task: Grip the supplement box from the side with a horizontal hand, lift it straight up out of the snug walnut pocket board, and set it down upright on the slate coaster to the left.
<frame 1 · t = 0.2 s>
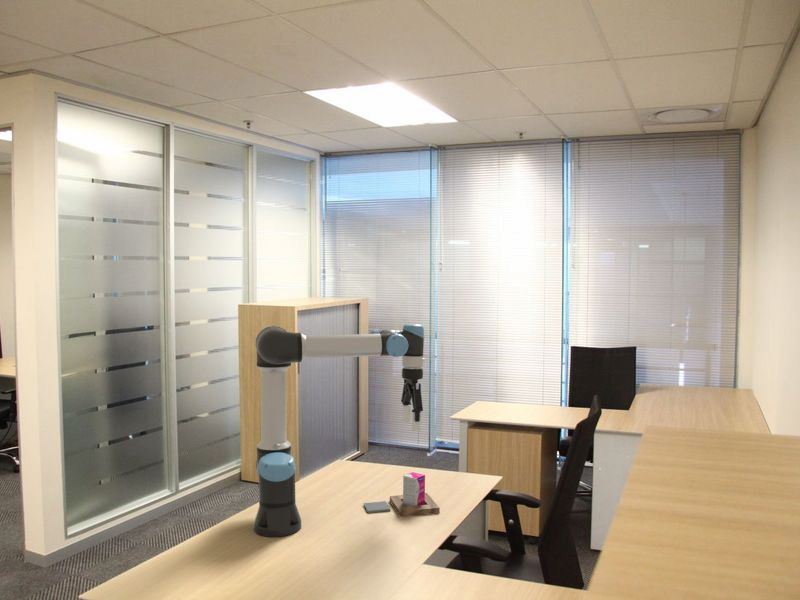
hand: (411, 426, 250), 27 cm above the table, tool pointing down, fingers open, 13 cm apart
coaster: (376, 508, 245), on the table
pocket board: (414, 506, 246), on the table
supplement box: (414, 507, 246), resting in pocket board
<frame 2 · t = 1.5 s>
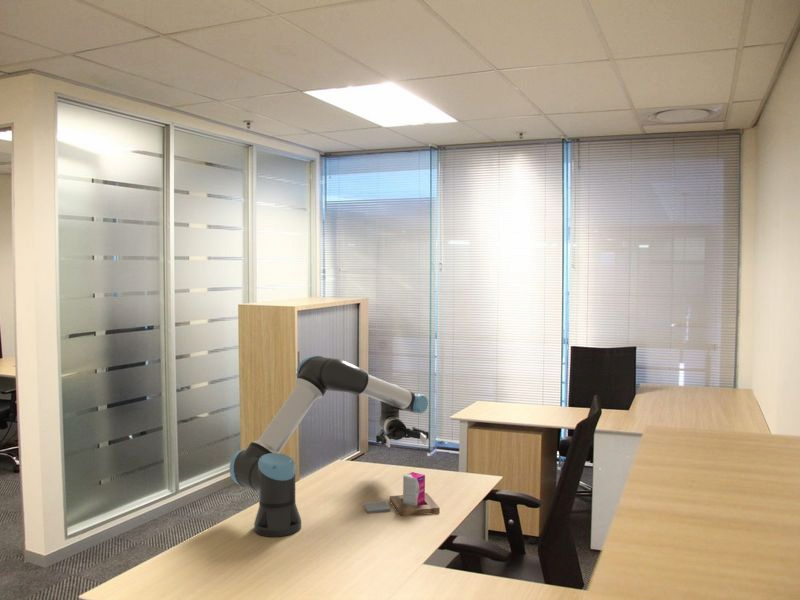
hand: (407, 442, 254), 21 cm above the table, tool horizontal, fingers open, 13 cm apart
nothing on the table moved.
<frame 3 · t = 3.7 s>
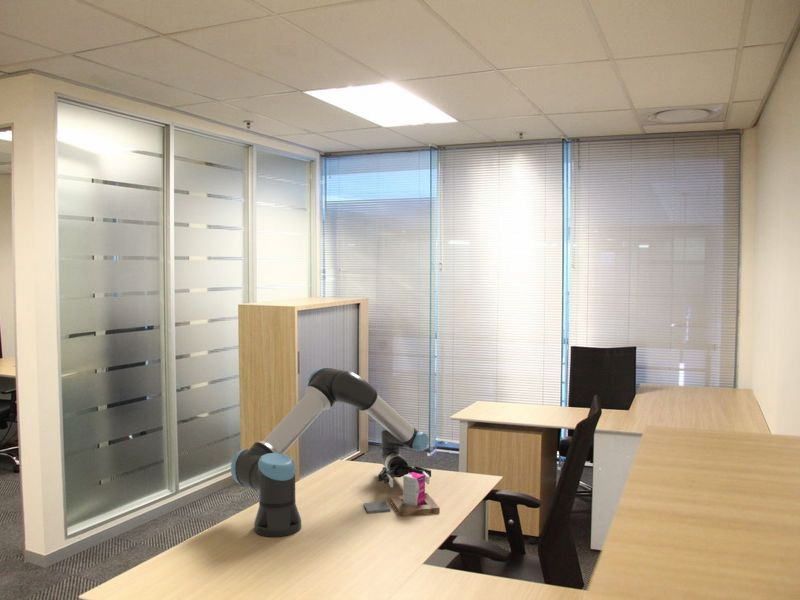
hand: (410, 481, 252), 7 cm above the table, tool horizontal, fingers open, 13 cm apart
nothing on the table moved.
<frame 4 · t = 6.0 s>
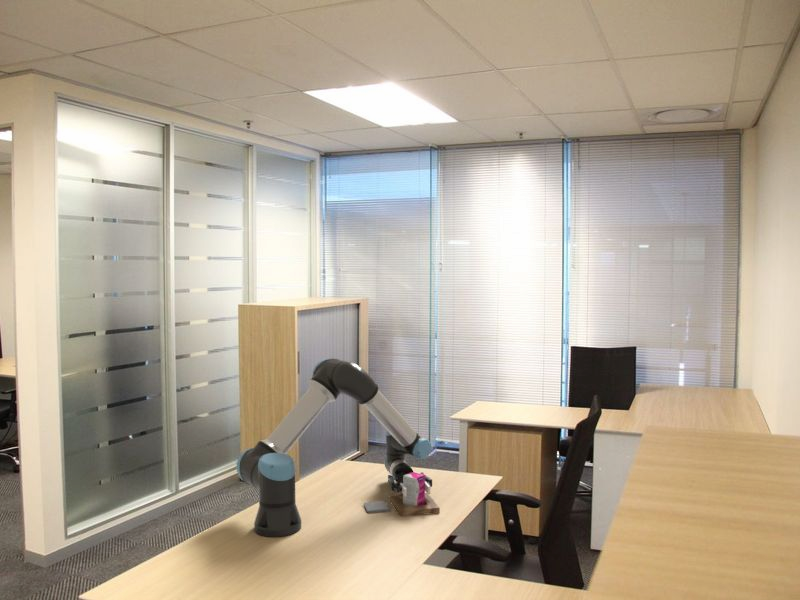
hand: (417, 491, 241), 7 cm above the table, tool horizontal, fingers closed on supplement box, 8 cm apart
supplement box: (414, 507, 246), resting in pocket board, touching gripper
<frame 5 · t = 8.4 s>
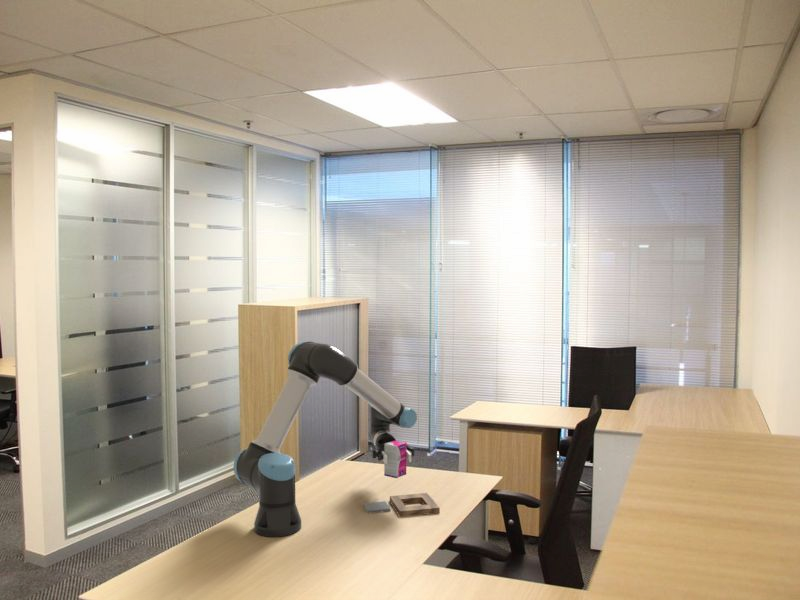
hand: (398, 459, 240), 19 cm above the table, tool horizontal, fingers closed on supplement box, 8 cm apart
supplement box: (395, 475, 245), point 11 cm above the table, touching gripper
when the fingers open (9 cm above the table, at t = 11.0 s): supplement box drops 2 cm, resting on coaster.
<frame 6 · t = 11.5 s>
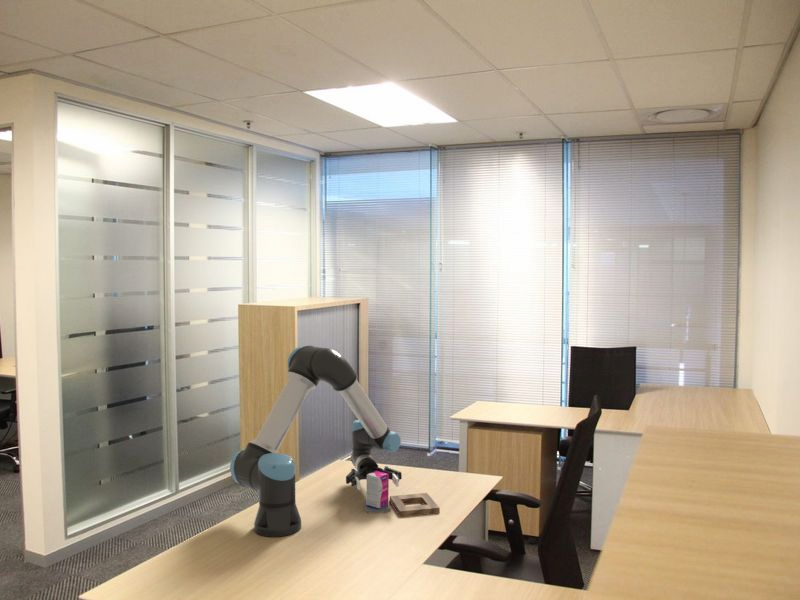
hand: (378, 484, 241), 9 cm above the table, tool horizontal, fingers open, 13 cm apart
supplement box: (377, 506, 245), point 1 cm above the table, touching coaster
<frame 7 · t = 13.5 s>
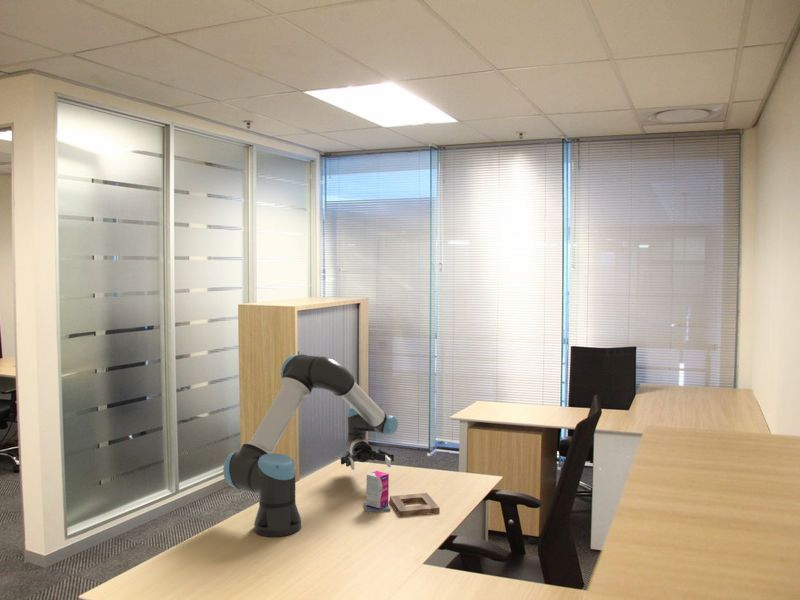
hand: (371, 464, 254), 13 cm above the table, tool horizontal, fingers open, 13 cm apart
nothing on the table moved.
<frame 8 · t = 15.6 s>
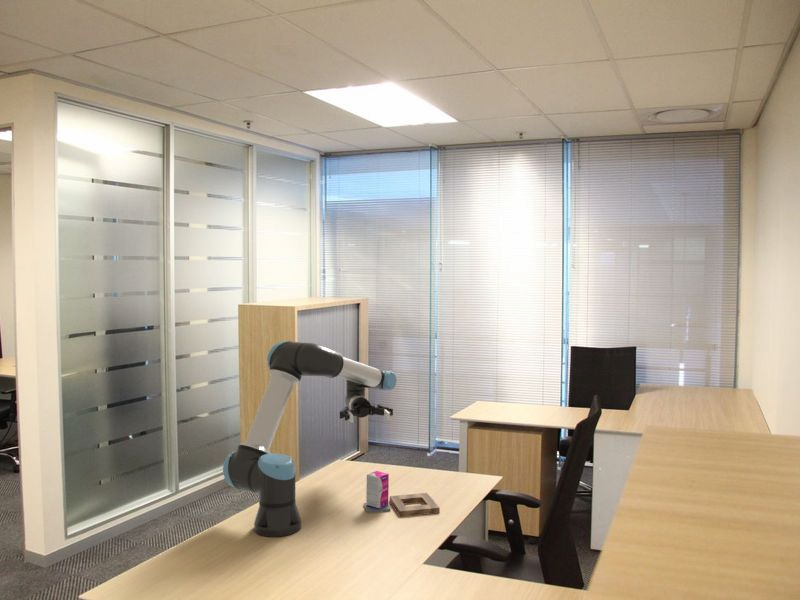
hand: (370, 417, 253), 30 cm above the table, tool horizontal, fingers open, 13 cm apart
nothing on the table moved.
at the end: supplement box inside the target area on the coaster (0.3 cm from its centre), point 0.6 cm above the coaster's base; supplement box tilted 0°; the gripper is holding nothing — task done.
